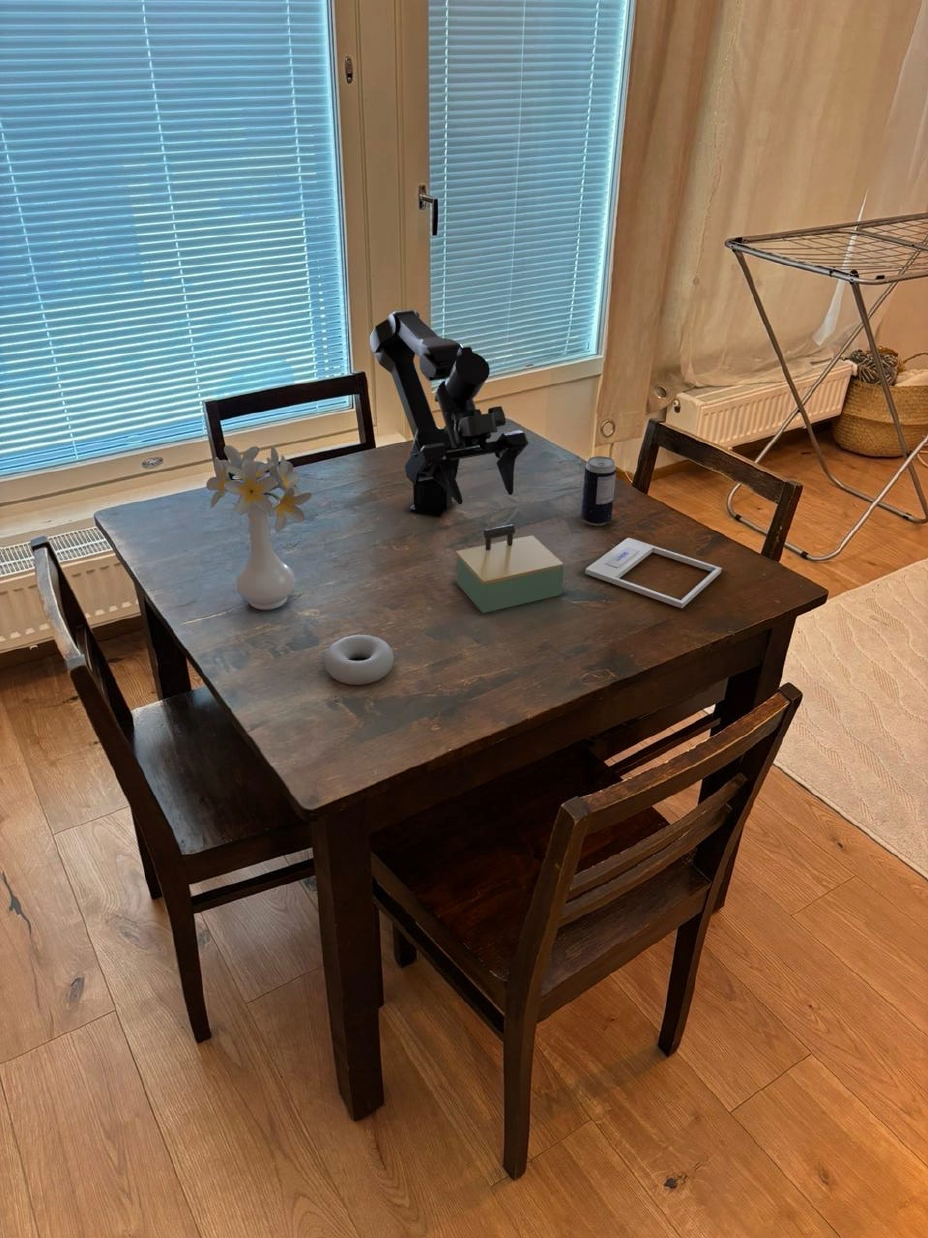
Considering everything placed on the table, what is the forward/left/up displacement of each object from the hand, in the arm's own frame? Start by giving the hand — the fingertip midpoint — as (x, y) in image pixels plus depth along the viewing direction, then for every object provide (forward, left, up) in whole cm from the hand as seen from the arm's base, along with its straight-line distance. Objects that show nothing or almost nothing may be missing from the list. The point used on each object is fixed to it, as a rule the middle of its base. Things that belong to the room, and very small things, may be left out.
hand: (486, 498), depth 152 cm
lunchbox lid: (+6, -6, -7) cm, 11 cm away
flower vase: (-28, -24, -12) cm, 39 cm away
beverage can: (+14, +23, -12) cm, 30 cm away
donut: (-6, -36, -12) cm, 38 cm away
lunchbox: (+7, -7, -12) cm, 15 cm away
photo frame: (+28, +7, -12) cm, 31 cm away
